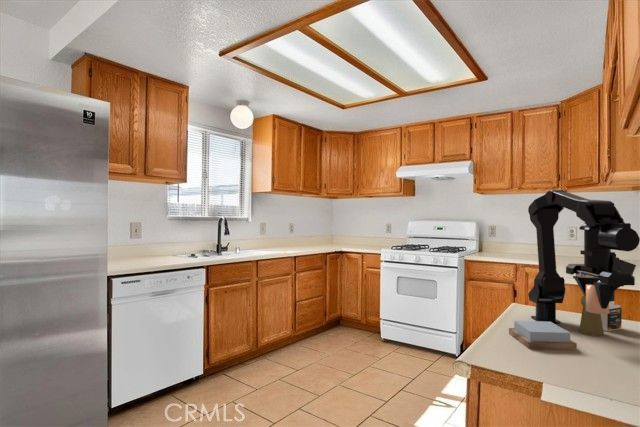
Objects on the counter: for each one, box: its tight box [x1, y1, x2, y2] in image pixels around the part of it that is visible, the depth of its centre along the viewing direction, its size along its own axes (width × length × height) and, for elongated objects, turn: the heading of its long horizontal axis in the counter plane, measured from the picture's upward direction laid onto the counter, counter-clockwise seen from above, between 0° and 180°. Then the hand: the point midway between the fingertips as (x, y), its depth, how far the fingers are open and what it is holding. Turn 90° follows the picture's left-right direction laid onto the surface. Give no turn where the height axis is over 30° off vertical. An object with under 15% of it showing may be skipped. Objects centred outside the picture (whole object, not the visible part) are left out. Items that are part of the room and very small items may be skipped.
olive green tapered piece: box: [578, 295, 605, 337], centre depth 111 cm, size 6×6×11 cm
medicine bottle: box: [601, 291, 623, 332], centre depth 116 cm, size 7×7×12 cm
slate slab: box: [513, 320, 571, 342], centre depth 103 cm, size 10×10×2 cm
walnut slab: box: [508, 327, 578, 351], centre depth 103 cm, size 12×12×2 cm
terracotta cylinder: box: [586, 284, 609, 314], centre depth 99 cm, size 5×5×7 cm
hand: (597, 305), depth 99 cm, fingers closed on terracotta cylinder, 5 cm apart
